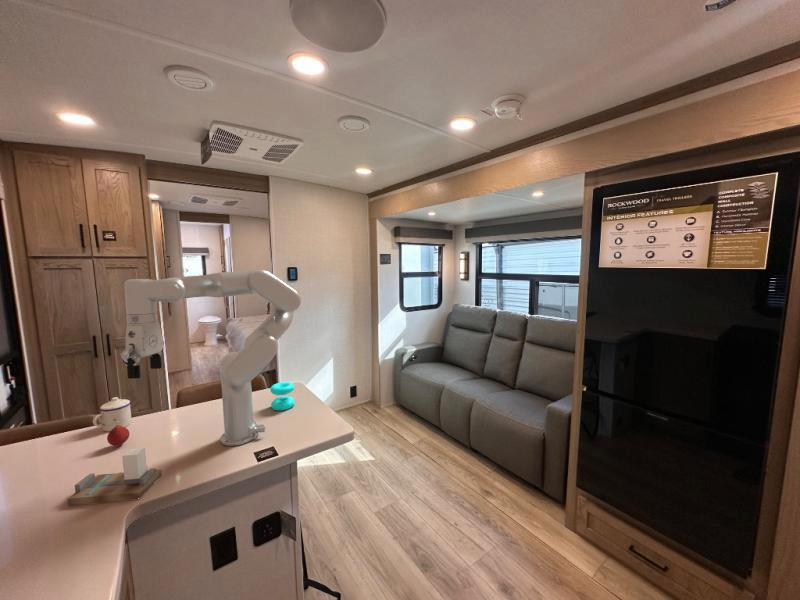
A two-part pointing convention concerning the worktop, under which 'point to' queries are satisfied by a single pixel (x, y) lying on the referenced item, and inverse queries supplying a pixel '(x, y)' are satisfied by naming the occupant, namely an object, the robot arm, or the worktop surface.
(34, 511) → the worktop surface
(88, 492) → the wooden slider board
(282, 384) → the donuts
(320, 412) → the worktop surface
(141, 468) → the fader
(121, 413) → the teacup with lid
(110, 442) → the onion
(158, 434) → the worktop surface
